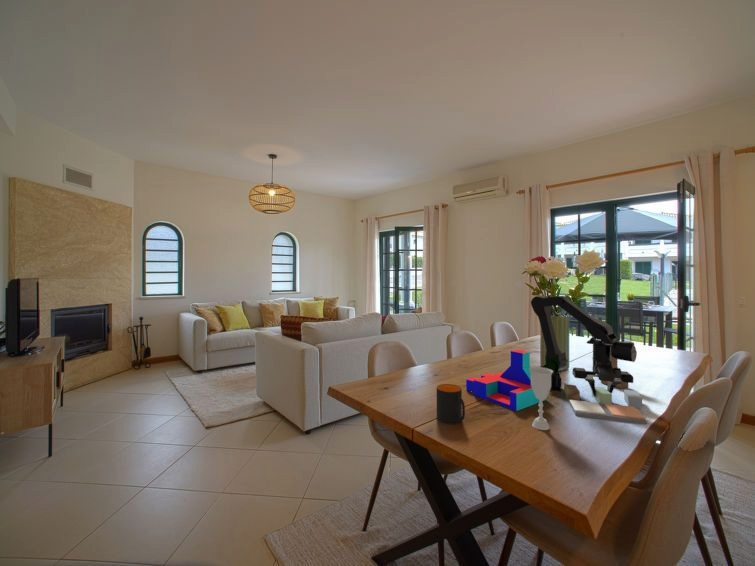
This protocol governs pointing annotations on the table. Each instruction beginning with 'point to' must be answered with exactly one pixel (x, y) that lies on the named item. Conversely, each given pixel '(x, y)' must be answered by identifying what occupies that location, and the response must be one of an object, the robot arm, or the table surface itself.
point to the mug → (450, 404)
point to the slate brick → (633, 398)
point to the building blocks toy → (507, 384)
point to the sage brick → (602, 395)
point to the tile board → (607, 411)
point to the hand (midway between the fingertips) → (601, 397)
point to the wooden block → (623, 384)
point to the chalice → (540, 392)
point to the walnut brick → (571, 392)
